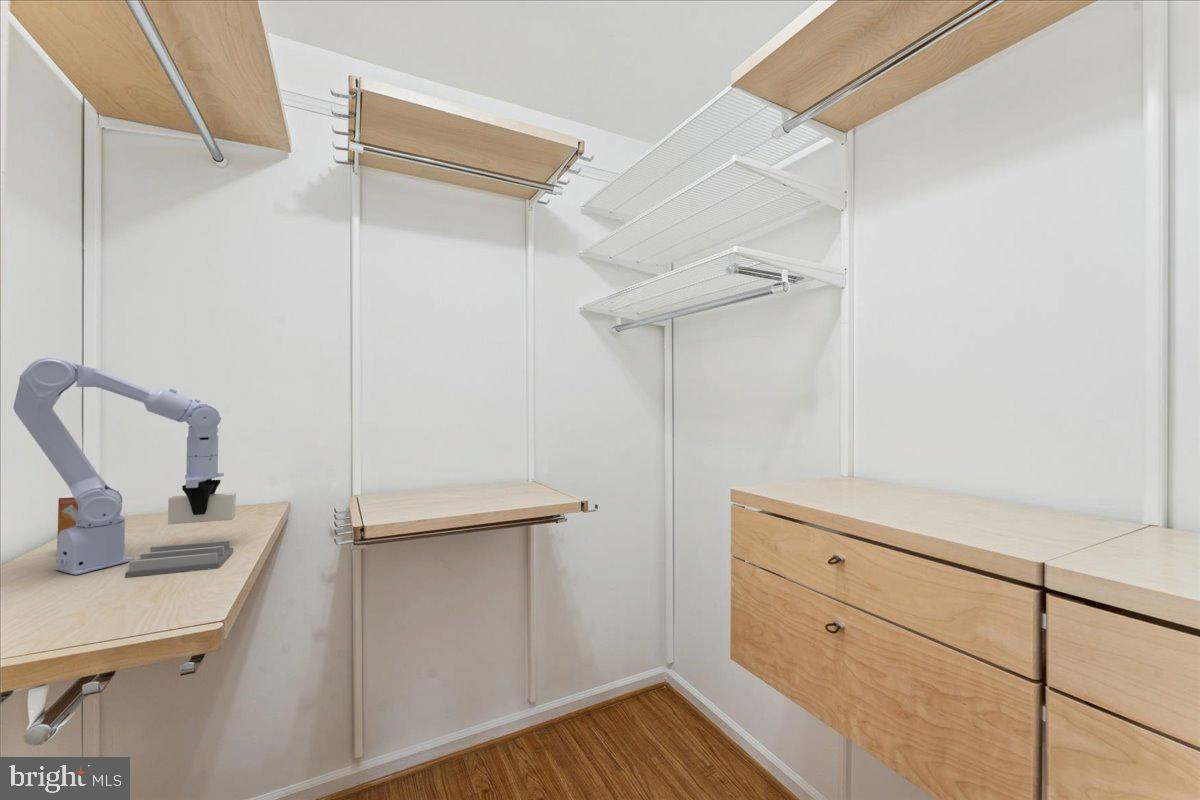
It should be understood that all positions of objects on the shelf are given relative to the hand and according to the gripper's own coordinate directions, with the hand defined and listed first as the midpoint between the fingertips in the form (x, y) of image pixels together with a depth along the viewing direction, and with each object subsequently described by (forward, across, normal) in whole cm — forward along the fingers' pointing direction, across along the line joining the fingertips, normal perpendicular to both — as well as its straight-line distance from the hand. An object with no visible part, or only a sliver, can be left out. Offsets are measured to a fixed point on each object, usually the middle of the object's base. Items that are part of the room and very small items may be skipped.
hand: (201, 512), depth 113 cm
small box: (+9, +7, +22) cm, 25 cm away
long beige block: (+2, 0, 0) cm, 2 cm away
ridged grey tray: (+8, -11, 0) cm, 14 cm away
